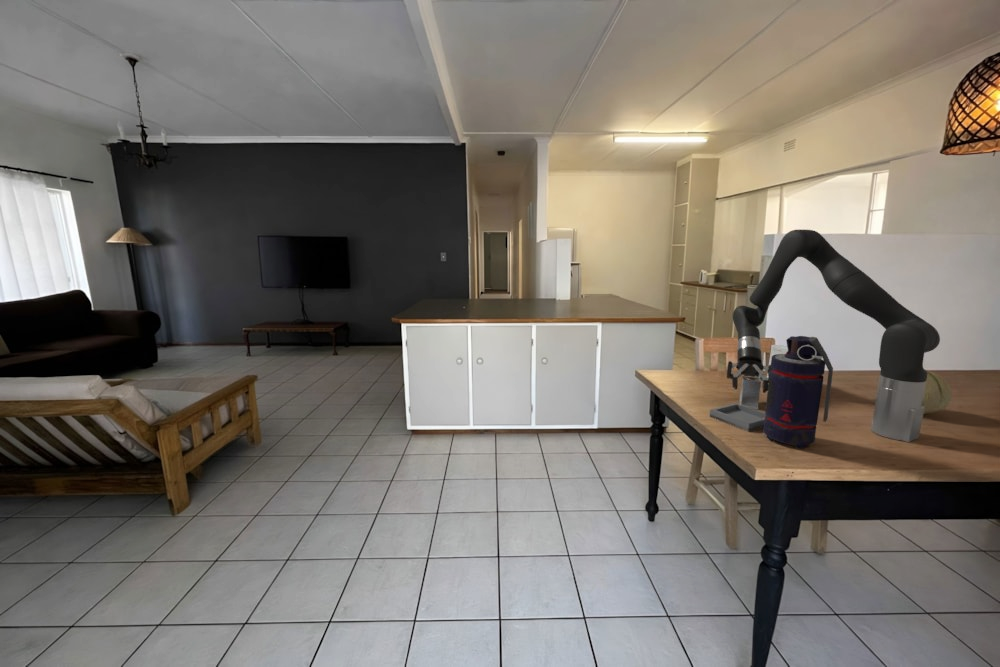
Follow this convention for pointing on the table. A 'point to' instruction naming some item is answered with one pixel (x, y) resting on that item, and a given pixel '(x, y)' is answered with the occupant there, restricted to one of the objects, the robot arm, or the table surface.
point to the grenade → (796, 392)
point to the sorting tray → (739, 416)
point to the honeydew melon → (936, 393)
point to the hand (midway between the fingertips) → (750, 390)
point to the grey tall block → (750, 392)
